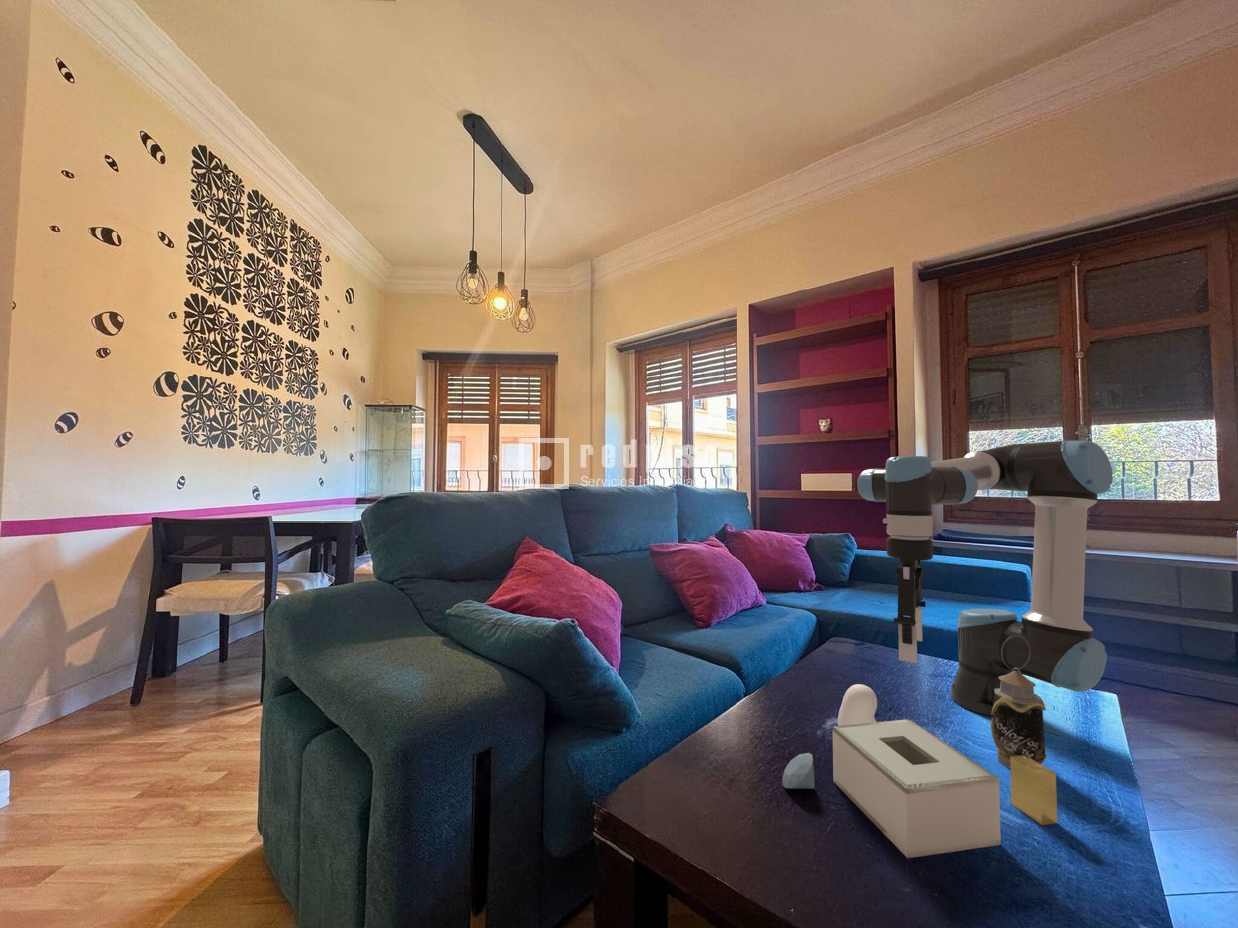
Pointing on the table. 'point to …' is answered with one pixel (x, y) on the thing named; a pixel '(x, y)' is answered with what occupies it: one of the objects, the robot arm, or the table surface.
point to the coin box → (916, 787)
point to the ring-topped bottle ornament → (1018, 717)
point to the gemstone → (799, 772)
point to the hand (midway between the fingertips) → (911, 649)
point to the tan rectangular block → (1033, 789)
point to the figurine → (858, 706)
